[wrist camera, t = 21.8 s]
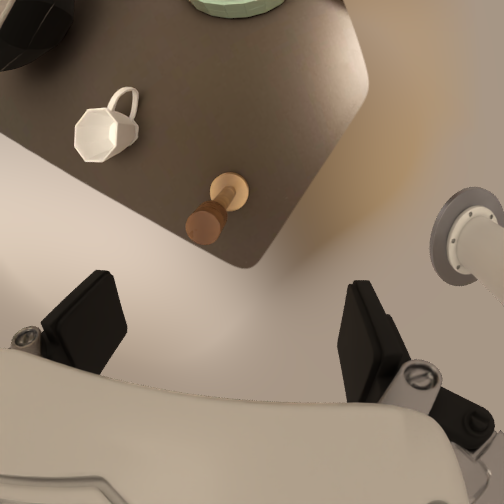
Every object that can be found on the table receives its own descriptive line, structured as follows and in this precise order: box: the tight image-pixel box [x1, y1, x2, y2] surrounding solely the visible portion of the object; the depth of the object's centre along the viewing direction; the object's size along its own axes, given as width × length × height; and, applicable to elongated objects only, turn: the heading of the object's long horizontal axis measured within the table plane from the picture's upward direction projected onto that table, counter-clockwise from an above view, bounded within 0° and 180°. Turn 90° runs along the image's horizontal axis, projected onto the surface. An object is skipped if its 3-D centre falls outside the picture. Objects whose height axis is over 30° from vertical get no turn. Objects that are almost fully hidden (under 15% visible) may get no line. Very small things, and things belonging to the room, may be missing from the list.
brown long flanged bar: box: [186, 172, 249, 245], centre depth 31 cm, size 5×5×15 cm
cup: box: [74, 87, 139, 162], centre depth 31 cm, size 7×10×8 cm
